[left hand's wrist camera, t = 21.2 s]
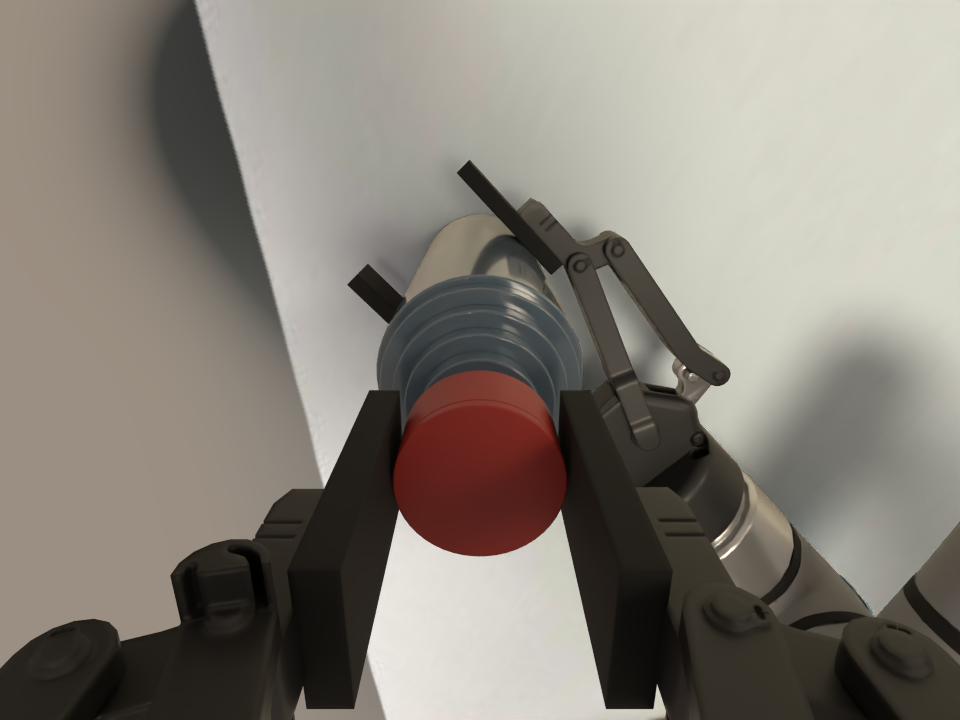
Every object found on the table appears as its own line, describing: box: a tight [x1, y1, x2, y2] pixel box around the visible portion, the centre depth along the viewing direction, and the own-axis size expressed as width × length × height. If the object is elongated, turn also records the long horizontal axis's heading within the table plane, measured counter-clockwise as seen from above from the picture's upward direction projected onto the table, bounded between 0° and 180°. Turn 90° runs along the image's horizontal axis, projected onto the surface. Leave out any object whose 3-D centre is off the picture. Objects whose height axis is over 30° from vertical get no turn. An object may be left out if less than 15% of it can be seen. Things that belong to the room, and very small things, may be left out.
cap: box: [393, 371, 567, 556], centre depth 14 cm, size 4×4×2 cm
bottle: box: [377, 214, 583, 436], centre depth 24 cm, size 7×7×23 cm
